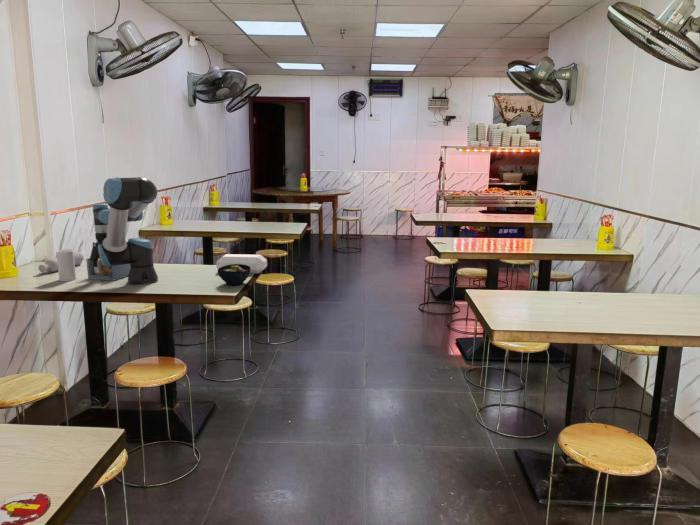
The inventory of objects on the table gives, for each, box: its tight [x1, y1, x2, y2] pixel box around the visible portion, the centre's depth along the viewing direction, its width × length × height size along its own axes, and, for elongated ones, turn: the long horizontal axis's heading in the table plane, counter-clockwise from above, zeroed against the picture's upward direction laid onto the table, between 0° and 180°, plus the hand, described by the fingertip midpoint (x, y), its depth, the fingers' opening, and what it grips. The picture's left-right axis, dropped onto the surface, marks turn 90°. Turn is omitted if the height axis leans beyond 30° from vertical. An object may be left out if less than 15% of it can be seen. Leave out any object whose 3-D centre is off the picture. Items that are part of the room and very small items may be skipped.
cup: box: [55, 248, 77, 282], centre depth 294 cm, size 8×8×16 cm
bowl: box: [217, 264, 251, 287], centre depth 286 cm, size 17×17×10 cm
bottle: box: [38, 249, 85, 273], centre depth 320 cm, size 9×9×30 cm
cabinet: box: [85, 257, 130, 281], centre depth 302 cm, size 17×20×11 cm
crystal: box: [216, 253, 268, 274], centre depth 315 cm, size 14×10×28 cm
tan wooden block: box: [94, 259, 111, 276], centre depth 299 cm, size 12×5×10 cm, turn 75°
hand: (106, 270), depth 299 cm, fingers open, 13 cm apart
